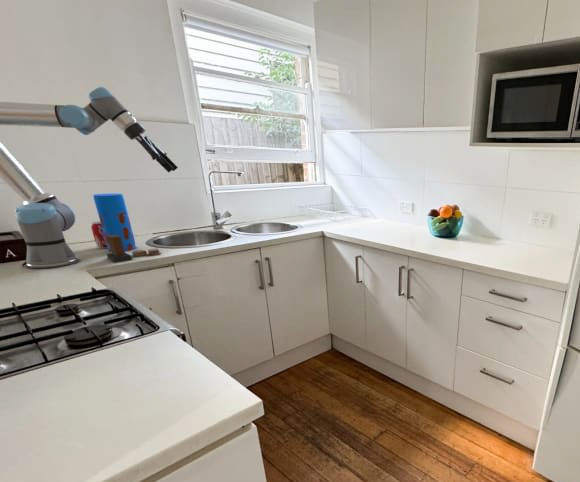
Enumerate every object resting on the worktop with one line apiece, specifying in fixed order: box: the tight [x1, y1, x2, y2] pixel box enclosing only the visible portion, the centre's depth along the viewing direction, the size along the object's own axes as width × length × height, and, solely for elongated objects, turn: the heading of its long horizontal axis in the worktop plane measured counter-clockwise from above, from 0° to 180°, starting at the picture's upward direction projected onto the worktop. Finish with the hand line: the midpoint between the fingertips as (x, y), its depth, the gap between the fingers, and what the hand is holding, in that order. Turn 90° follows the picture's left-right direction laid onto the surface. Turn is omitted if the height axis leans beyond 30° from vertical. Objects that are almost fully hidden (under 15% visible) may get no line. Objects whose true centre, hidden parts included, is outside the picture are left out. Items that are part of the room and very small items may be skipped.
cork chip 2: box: [147, 248, 161, 256], centre depth 173 cm, size 4×4×2 cm
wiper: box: [106, 234, 133, 263], centre depth 163 cm, size 6×10×10 cm, turn 52°
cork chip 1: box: [131, 249, 148, 258], centre depth 171 cm, size 4×4×2 cm
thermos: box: [92, 192, 137, 252], centre depth 176 cm, size 11×11×25 cm
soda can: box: [90, 220, 109, 250], centre depth 181 cm, size 7×7×12 cm
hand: (173, 170), depth 171 cm, fingers open, 13 cm apart
